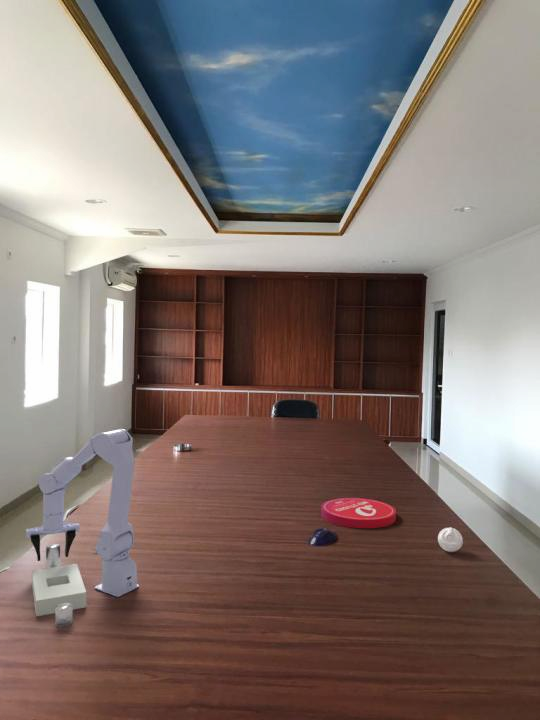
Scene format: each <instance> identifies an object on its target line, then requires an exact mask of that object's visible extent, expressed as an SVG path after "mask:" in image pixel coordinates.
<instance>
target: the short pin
mask: <svg viewBox="0 0 540 720" xmlns="http://www.w3.org/2000/svg"><path fill="white" fill-rule="evenodd" d="M73 613H74V610H73V605H72V604H70V603H63V604H59V605H57V606H56V607H55V613H54V621H55V622H54V625H55V626H56V627H58V628H66V627H68V626H71V625H72V624H73V622H74V621H73V619H74V617H73V616H74V615H73Z"/></svg>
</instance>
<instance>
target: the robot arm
mask: <svg viewBox="0 0 540 720" xmlns="http://www.w3.org/2000/svg"><path fill="white" fill-rule="evenodd" d="M133 441H134V438H133V437H132V436H131V434H130V433H129V432H128V431H127V430H126V429H125V428H117V429H115V430H110V431H106V432H105V431H104V432H98V433H96V434H95V435H94V436H93V437H91V438H89V441H88V442H87V443H86V444H85V445H84V446H83V447H82V448H81V449H80V450H79V451H78V452H77V453H76V454H75V455H74V456H68V457H62V459H61V462H60V463H59V464H58V465H57V466H54V467H52V469H51V471H50V472H49V473H48V472H47V473H46V472H45V473H43V474H41V476H40V478H39V480H38V488H39V490H40V491H41V492H42V493H43V494H42V498H43V499H42V503H43V504H42V525H41V526H37V527H32V528H26V531H25V532H26V535H25V536H26V538H30V541H31V542H30V543H31V544H32V545H33V548H34V551H35V553H36V556H37V557H36V559H37V562H41V536H44V535H45V536H47V535H54V534H62V533H63V534H64V533H65V547H64V548H65V549H64V556H65V558H68V557H69V555H70V553H69V552H70V550H71V546H72V544H73V542H74V540H75V539H76V532H80V524H79V522H76V523H64V518H65V517H64V515H65V513H64V512H65V510H64V509H65V508H64V507H65V495H66V493H67V492H66V490H67V488H68V486H69V482H71V481H72V480H73V479H74V478H76V477H77V476H78V475H79V474H81V472H82V467H83V465H85V464H86V463H87V462H88V461H90V460H92V458H94V457H95V456H96V455H98V456H99V457H100V458H101V459H103V460H104V461H105V462H107V463H108V464H109V465H111V466H112V467H113V468H112V469H113V470H112V471H113V472H112V478H111V479H112V480H111V489H110V497H109V504H108V513H107V514H108V515H107V519H108V520H107V521H106V524H105V525H104V526H103V528H102V529H101V530H100V533H99V534H100V535H99V538H98V540H97V541H96V544H95V548H96V550H97V554H98V556H99V558H100V560H101V583H99V584H97V585H96V586H94V589H95V590H98V591H100V592H103V593H106V594H108V595H112V596H114V597H117V598H119V597H121V596H123V595H125V594H127V593H130V592H131V591H133V590H136V589H137V588H139V587H140V585H139V584H138V577H137V576H138V565H137V562H136V561H135V560H133V559H132V558H131V556H130V555H129V554H131V549H132V548H133V546H134V545H135V535H134V526H133V525H132V524H131V523H130V522H129V515H130V514H129V513H130V506H131V497H132V490H133V489H132V488H133V480H134V474H135V466H136V465H135V464H136V463H135V462H136V461H135V456H134V451H133Z"/></svg>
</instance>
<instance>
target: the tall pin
mask: <svg viewBox="0 0 540 720" xmlns="http://www.w3.org/2000/svg"><path fill="white" fill-rule="evenodd" d="M58 566H61V544H59V543H52V544H48V545H46V546H45V568H52V567H58Z"/></svg>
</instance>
